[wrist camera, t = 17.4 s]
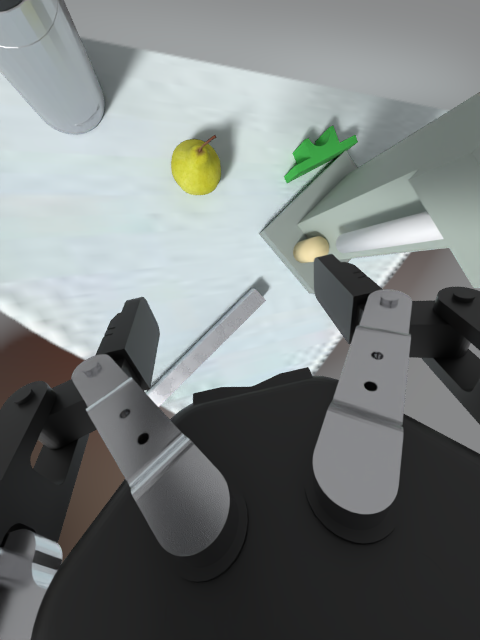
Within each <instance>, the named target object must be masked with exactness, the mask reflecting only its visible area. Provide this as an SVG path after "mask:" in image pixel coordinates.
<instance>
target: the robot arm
mask: <svg viewBox="0 0 480 640" xmlns="http://www.w3.org/2000/svg"><path fill="white" fill-rule="evenodd" d="M0 72H1V73H2V74H3V75H4V77H5V78H6V79H7V80H8V81H9V82H10V83H11V84H12V86H13V87H14V88H15V89H16V90H17V91H18V92H19V93H20V95H21V96H22V97H23V98H24V99H25V100H26V102H27V103H28V104H29V105H30V106H31V107H32V108H33V109H34V110H35V112H36V113H37V114H38V115H39V116H40V117H41V118H42V119H43V120H44V121H45V122H46V123H47V124H48V125H50V126H51V127H53V128H54V129H56V130H58V131H61V132H64V133H68V134H82V133H86V132H88V131H90V130H92V129H93V128H95V127H96V126H97V124H98V123H99V122H100V120H101V118H102V116H103V113H104V108H105V100H104V95H103V91H102V89H101V86H100V84H99V82H98V79H97V77H96V75H95V72H94V70H93V67H92V65H91V62H90V60H89V58H88V56H87V53H86V51H85V49H84V46H83V44H82V42H81V39H80V37H79V35H78V32H77V30H76V28H75V26H74V23H73V21H72V19H71V16H70V14H69V11H68V9H67V7H66V5H65V2H64V0H0ZM314 292H315V296H316V298H317V300H318V301H319V303H320V304H321V306H322V307H323V308H324V310H325V311H326V313H327V314H328V316H329V317H330V318H331V320H332V321H333V323H334V324H335V325H336V327H337V328H338V330H339V331H340V332H341V334H342V335H343V337H344V338H345V340H346V341H347V342H348V344H351V345H350V348H349V351H348V354H347V357H346V360H345V364H344V367H343V370H342V373H341V376H340V379H339V380H337V379H333V378H329V377H324V376H312V374H311V372H310V370H309V368H308V367H307V368H303V369H298V370H294V371H290V372H285V373H281V374H278V375H276V376H274V377H272V378H270V379H268V380H266V381H263V382H261V383H259V384H257V385H255V386H252V387H220V388H216V389H211V390H207V391H203V392H198V393H194V394H193V403H192V404H190V405H189V406H187V407H185V408H184V409H182V410H181V411H179V412H178V413H177V414H176V415H175V416H173V417H172V418H171V419H169V418H168V417H167V416H166V415H165V414H164V413H163V412H162V411H161V410H160V408H159V407H158V406H157V405H156V404H155V403H154V402H153V401H152V400H151V398H150V397H149V396H148V395H147V394H146V393H145V392H144V390H148V389H150V387H151V381H152V375H153V370H154V364H155V358H156V353H157V347H158V341H159V336H160V332H159V327H158V324H157V321H156V319H155V317H154V315H153V313H152V311H151V309H150V307H149V305H148V303H147V301H146V299H145V298H144V297H140V298H136V299H131V300H127V301H126V302H125V305H124V307H123V310H122V312H121V313H118V314H117V315H116V316H115V317H114V318H113V319H112V320H111V321H110V324H109V326H108V328H107V330H106V333H105V337H103V339H102V342H101V344H100V346H99V348H98V351H97V353H96V355H95V356H93V357H90V358H88V359H87V360H85V361H84V362H82V363H81V364H80V365H79V366H78V367H77V368H76V369H75V371H74V372H73V374H72V379H71V380H69V381H67V382H65V383H63V384H60V385H58V386H56V387H54V388H50V387H49V386H48V385H47V384H46V383H45V382H43V381H37V382H33V383H30V384H28V385H26V386H24V387H22V388H20V389H19V390H17V391H16V392H15V393H14V394H12V395H11V396H10V397H9V398H8V399H7V401H6V402H5V403H4V405H3V406H2V408H1V410H0V640H480V454H479V453H477V452H475V451H473V450H471V449H469V448H467V447H466V446H464V445H462V444H460V443H458V442H456V441H454V440H452V439H450V438H448V437H447V436H445V435H443V434H441V433H439V432H437V431H435V430H433V429H432V428H430V427H428V426H426V425H424V424H422V423H420V422H418V421H417V420H415V419H413V418H411V417H409V416H407V415H405V414H403V412H404V402H405V392H406V382H407V372H408V363H409V357H419V358H422V359H423V361H424V362H425V363H426V364H427V365H428V366H429V367H430V369H431V370H432V371H433V372H434V373H435V374H436V375H437V377H438V378H439V379H440V380H441V381H442V382H443V383H444V384H445V385H446V387H447V388H448V389H449V390H450V391H451V392H452V393H453V395H454V396H455V397H456V398H457V399H458V400H459V401H460V403H462V405H463V406H464V407H465V408H466V409H467V411H468V412H469V413H470V414H471V415H472V416H473V417H474V419H476V421H477V422H478V423H479V424H480V359H479V358H478V357H477V356H476V355H475V354H473V353H472V352H471V351H470V350H469V349H468V347H469V345H470V343H472V344H473V345H474V346H475V347H476V348H478V349H479V350H480V291H477V290H474V289H470V288H465V287H449V288H445V289H442V290H440V291H439V292H438V295H437V298H436V300H435V301H412V300H411V298H410V297H409V296H408V295H407V294H405V293H403V292H400V291H396V290H389V289H384V290H383V289H382V288H381V287H379V286H378V285H377V284H376V283H375V282H374V281H372V280H371V279H370V278H369V277H367V276H366V275H365V274H364V273H363V272H361V270H360V269H359V268H357V267H356V266H355V265H353V264H350V263H347V262H340V261H339V260H338V259H337V258H336V257H335V256H334V255H333V254H328V255H324V256H320V257H316V258H315V259H314ZM96 429H97V430H98V432H99V434H100V435H101V437H102V439H103V440H104V442H105V444H106V446H107V447H108V449H109V451H110V453H111V454H112V456H113V458H114V460H115V461H116V463H117V465H118V466H119V468H120V470H121V472H122V473H123V475H124V477H125V480H124V481H123V482H122V484H121V485H120V486H119V488H118V489H117V490H116V492H115V493H114V494H113V496H112V497H111V499H110V500H109V501H108V503H107V504H106V505H105V506H104V508H103V509H102V510H101V512H100V513H99V515H98V516H97V517H96V518H95V520H94V521H93V523H92V524H91V525H90V527H89V528H88V529H87V531H86V532H85V533H84V534H83V536H82V538H81V539H80V540H79V541H78V543H77V544H76V546H75V547H74V548H73V549H72V551H71V552H70V553H69V555H68V556H67V558H66V559H65V560H64V561H63V563H62V550H61V547H60V546H59V544H58V540H59V537H60V533H61V530H62V526H63V522H64V519H65V516H66V512H67V509H68V506H69V502H70V499H71V495H72V492H73V488H74V485H75V482H76V478H77V475H78V471H79V468H80V464H81V461H82V457H83V454H84V450H85V447H86V444H87V440H88V437H89V433H91V432H93V431H95V430H96ZM37 440H39V441H40V442H42V443H43V444H44V445H43V447H42V450H41V452H40V454H39V456H38V459H37V461H36V464H35V466H34V468H33V469H32V467H31V463H30V456H31V453H32V451H33V449H34V447H35V444H36V442H37ZM61 563H62V564H61Z"/></svg>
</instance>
